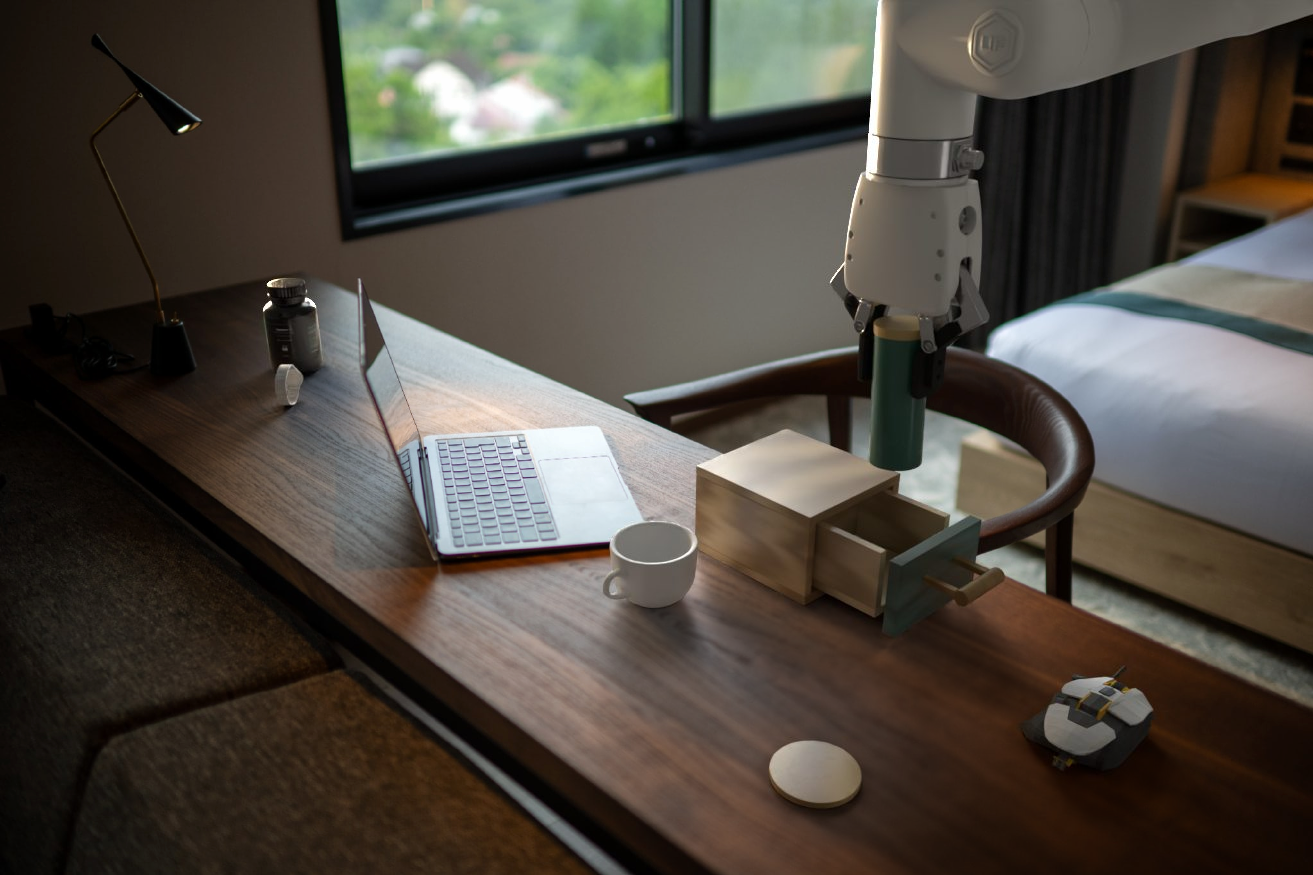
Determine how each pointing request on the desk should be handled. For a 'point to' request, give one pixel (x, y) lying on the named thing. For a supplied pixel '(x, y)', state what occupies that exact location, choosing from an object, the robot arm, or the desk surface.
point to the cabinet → (779, 506)
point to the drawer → (899, 559)
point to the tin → (895, 396)
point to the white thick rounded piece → (287, 384)
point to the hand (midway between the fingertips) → (898, 383)
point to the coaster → (815, 774)
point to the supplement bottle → (292, 326)
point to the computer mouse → (1092, 722)
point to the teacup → (652, 563)
